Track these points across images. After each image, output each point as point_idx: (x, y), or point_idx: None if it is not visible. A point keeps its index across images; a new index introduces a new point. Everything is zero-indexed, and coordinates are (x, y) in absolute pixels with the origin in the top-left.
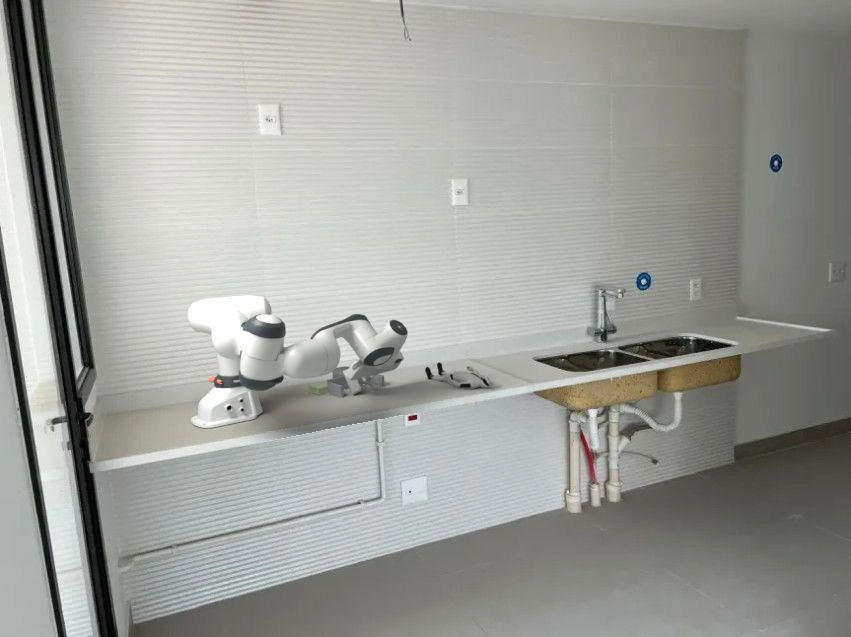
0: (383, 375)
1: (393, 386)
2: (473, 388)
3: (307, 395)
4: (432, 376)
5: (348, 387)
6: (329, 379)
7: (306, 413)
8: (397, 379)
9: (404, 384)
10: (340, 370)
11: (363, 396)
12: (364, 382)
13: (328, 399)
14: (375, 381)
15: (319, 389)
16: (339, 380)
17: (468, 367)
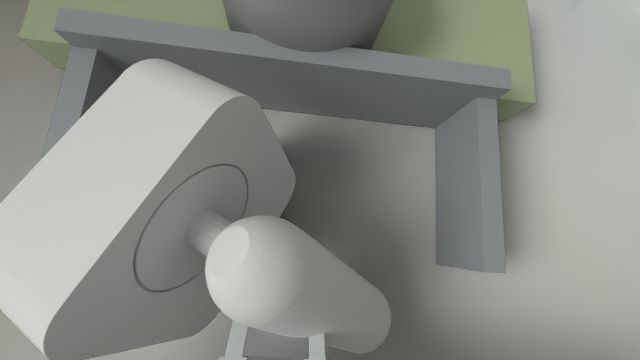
0: (505, 267)
1: (485, 325)
2: None
3: (23, 3)
4: None
5: (276, 106)
6: (82, 19)
7: None
8: (593, 210)
9: (560, 350)
10: None
11: (195, 355)
12: (403, 119)
13: (8, 194)
14: (354, 349)
15: (29, 43)
16: (190, 62)
17: None
